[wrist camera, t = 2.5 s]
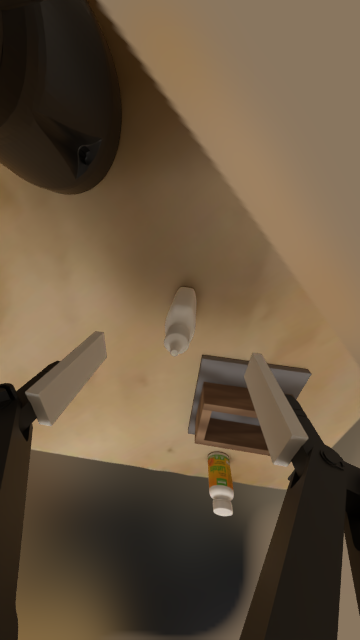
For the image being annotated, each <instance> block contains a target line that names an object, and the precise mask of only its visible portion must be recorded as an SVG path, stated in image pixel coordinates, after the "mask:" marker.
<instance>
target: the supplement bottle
mask: <svg viewBox="0 0 360 640" xmlns="http://www.w3.org/2000/svg"><path fill="white" fill-rule="evenodd" d="M208 473H209V493H210V496H211V497H212V498H213V499H214V501H213V511H214V513H216V514H217V515H221V516H230V515H232V514H233V509H232V503H231V502H230V501H231V500H232V499H233V497H234V492H233V485H232V477H231V470H230V462H229V457H228V456H227V455H226V454H224V453H221V452H213V453H211V454H209V456H208Z"/></svg>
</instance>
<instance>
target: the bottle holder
mask: <svg viewBox="0 0 360 640" xmlns="http://www.w3.org/2000/svg"><path fill="white" fill-rule="evenodd" d="M248 364H249V361H243V360H235V359H228V358H221V357H214V356H206V355H202V359H201V364H200V370H199V375H198V380H197V385H196V391H195V396H194V401H193V406H192V412H191V417H190V422H189V427H188V433H189V434H195V443H196V444H202V445H208V446H214V447H220V448H226V449H232V450H238V451H244V452H250V453H256V454H262V455H268V456H270V453H269V450H268V447H267V444H266V441H265V438H264V435H263V432H262V429H261V426H260V423H259V420H258V417H257V414H256V411H255V408H254V405H253V402H252V399H251V396H250V393H249V390H248V387H247V384H246V381H245V378H244V375H245V372H246V370H247V367H248ZM267 365H268V366H269V368H270V370H271V372H272V373H273V375H274V377H275V379H276V381H277V382H278V384H279V386H280V388H281V389H282V391H283V393H284V394H288V395H291V396H293V397H294V398H295V399H297V397H298V395H299V394H300V392H301V391H302V389H303V387H304V386H305V384H306V382H307V381H308V379H309V377H310V376H311V373H310V371H309V370H308V369H300V368H293V367H286V366H279V365H271V364H267Z"/></svg>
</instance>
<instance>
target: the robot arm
mask: <svg viewBox="0 0 360 640" xmlns="http://www.w3.org/2000/svg"><path fill="white" fill-rule="evenodd" d="M120 131H121V98H120V90H119V84H118V79H117V74H116V70H115V66H114V62H113V59H112V56H111V53H110V50H109V47H108V45H107V42H106V40H105V38H104V35H103V33H102V31H101V29H100V27H99V25H98V22H97V20H96V18H95V16H94V14H93V12H92V10H91V8H90V6H89V4H88V2H87V0H0V163H1V164H3V165H4V166H6V167H7V168H8V169H10V170H11V171H12V172H14V173H15V174H16V175H18V176H19V177H21V178H23V179H24V180H26V181H28V182H30V183H32V184H34V185H36V186H39V187H41V188H44V189H47V190H50V191H53V192H57V193H61V194H78V193H82V192H85V191H87V190H89V189H91V188H92V187H94V186H95V185H96V184H98V183H99V182H100V181H101V180H102V178H103V177H104V176H105V175H106V173H107V172H108V170H109V168H110V166H111V164H112V162H113V160H114V157H115V154H116V151H117V147H118V143H119V138H120ZM106 358H107V353H106V346H105V338H104V332H97V331H95V332H94V333H93V334H92V335H91V336H89V337H88V338H87V339H86V340H85V341H84V342H83V343H81V344H80V345H79V346H78V347H77V348H76V349H74V350H73V351H72V352H71V353H70V354H69V355H67V356H66V357H65V358H64V359H63V360H62V361H56V362H54V363H52V364H50V365H48V366H47V367H46V368H44V369H43V370H42V372H40V373H38V374H37V375H36V376H35V377H33V378H32V379H31V380H30V381H29V382H27V383H26V384H25V385H24V386H22V387H21V388H20V389H19V390H18V391H16V390H15V388H14V386H13V385H12V384H9V383H4V384H0V640H18V618H17V613H16V605H15V601H16V589H17V579H18V570H19V560H20V550H21V540H22V529H23V520H24V510H25V500H26V490H27V480H28V470H29V459H30V450H31V440H32V430H33V426H32V422H33V421H34V420H35V419H36V418H37V420H38V422H39V424H42V425H48V426H52V425H53V424H54V422H55V421H56V420H57V419H58V417H59V416H60V415H61V414H62V412H63V411H64V410H65V409H66V407H67V406H68V405H69V404H70V402H71V401H72V400H73V399H74V397H75V396H76V395H77V394H78V392H79V391H80V390H81V389H82V387H83V386H84V385H85V384H86V382H87V381H88V380H89V379H90V377H91V376H92V375H93V374H94V372H95V371H96V370H97V369H98V367H99V366H100V365H101V364H102V362H103V361H104V360H105V359H106ZM244 378H245V381H246V384H247V387H248V390H249V393H250V396H251V399H252V402H253V405H254V408H255V411H256V414H257V417H258V420H259V423H260V426H261V429H262V432H263V435H264V438H265V441H266V444H267V447H268V450H269V453H270V456H271V459H272V462H273V464H275V465H281V466H288V465H289V464H290V462H291V461H292V463H293V466H294V468H295V470H294V471H293V472H292V474H291V475H290V476H289V477H288V480H289V481H290V483H289V486H288V489H287V492H286V495H285V498H284V501H283V505H282V508H281V511H280V514H279V517H278V520H277V523H276V527H275V530H274V533H273V536H272V539H271V542H270V545H269V549H268V552H267V555H266V558H265V561H264V564H263V567H262V570H261V573H260V577H259V580H258V583H257V586H256V589H255V592H254V595H253V599H252V602H251V605H250V608H249V611H248V614H247V617H246V620H245V624H244V627H243V630H242V633H241V636H240V639H239V640H337V632H338V616H339V600H340V585H341V569H342V568H341V567H342V552H343V537H344V533H345V539H346V544H347V549H348V555H349V560H350V566H351V571H352V576H353V582H354V587H355V593H356V598H357V603H358V609H359V614H360V468H358V467H355V466H353V465H351V464H349V463H347V462H345V461H343V459H342V458H341V457H340V456H339V454H338V453H336V452H335V451H334V450H333V449H332V448H330V447H328V446H326V445H325V444H324V443H323V441H322V440H321V438H320V436H319V435H318V433H317V432H316V430H315V428H314V427H313V425H312V424H311V422H310V420H309V419H308V418H307V415H306V414H305V412H304V411H303V409H302V407H301V406H300V404H299V403H298V401H297V400H296V399H295V398H294V397H293V396H291V395H288V394H284V393H283V391H282V389H281V388H280V386H279V384H278V382H277V381H276V379H275V377H274V375H273V373H272V372H271V370H270V368H269V366H268V365H267V363H266V361H265V359H264V357H263V356H262V354H258V353H252V355H251V358H250V361H249V364H248V367H247V370H246V372H245V375H244Z"/></svg>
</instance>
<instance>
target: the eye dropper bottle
mask: <svg viewBox="0 0 360 640" xmlns="http://www.w3.org/2000/svg"><path fill="white" fill-rule="evenodd" d="M196 304H197V301H196V294H195V291H194V289H193V288H188V287H180V288H179V289H178V291H177V293H176V295H175V297H174V300H173V302H172V304H171V307H170V309H169V312H168V314H167V317H166V322H165V334H166V336H165V339H164V346H165V348H166V349H167V350H168V351H169V352H170V353H171V355H172V356H177V355H178V354H181V353H183V352H185V351H186V350H187V349H188V347H189V343H190V342H191V340H192V338H193V335H194V332H195V325H196Z"/></svg>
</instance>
